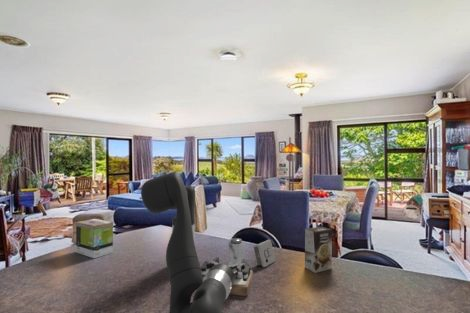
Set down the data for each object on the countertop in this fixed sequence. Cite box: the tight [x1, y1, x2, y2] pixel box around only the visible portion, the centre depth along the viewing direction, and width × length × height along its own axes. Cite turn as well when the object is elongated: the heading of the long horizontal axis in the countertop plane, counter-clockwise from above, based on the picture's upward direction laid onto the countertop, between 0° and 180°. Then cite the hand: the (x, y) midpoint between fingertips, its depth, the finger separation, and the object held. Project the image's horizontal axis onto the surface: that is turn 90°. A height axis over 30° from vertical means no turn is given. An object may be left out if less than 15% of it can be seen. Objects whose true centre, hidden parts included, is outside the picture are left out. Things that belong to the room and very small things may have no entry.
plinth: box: [229, 269, 254, 297], centre depth 97 cm, size 10×13×3 cm
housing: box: [228, 237, 244, 280], centre depth 97 cm, size 5×5×13 cm
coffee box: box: [304, 226, 333, 274], centre depth 112 cm, size 9×6×16 cm
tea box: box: [75, 218, 114, 259], centre depth 130 cm, size 15×10×15 cm, turn 58°
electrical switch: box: [253, 239, 276, 268], centre depth 117 cm, size 9×5×9 cm, turn 141°
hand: (230, 261), depth 87 cm, fingers open, 8 cm apart
